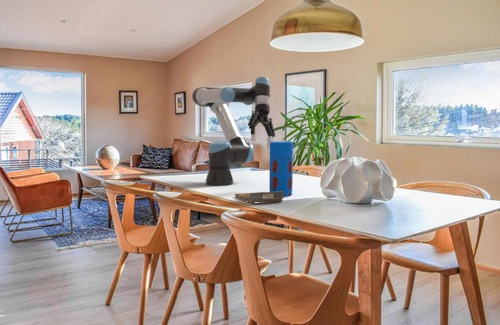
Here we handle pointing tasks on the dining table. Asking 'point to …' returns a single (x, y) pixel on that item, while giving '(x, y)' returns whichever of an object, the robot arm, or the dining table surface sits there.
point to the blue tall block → (281, 167)
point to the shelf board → (261, 196)
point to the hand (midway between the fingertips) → (261, 144)
